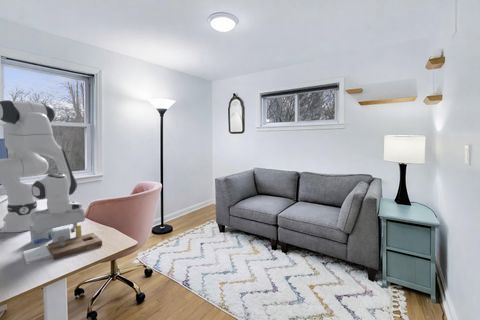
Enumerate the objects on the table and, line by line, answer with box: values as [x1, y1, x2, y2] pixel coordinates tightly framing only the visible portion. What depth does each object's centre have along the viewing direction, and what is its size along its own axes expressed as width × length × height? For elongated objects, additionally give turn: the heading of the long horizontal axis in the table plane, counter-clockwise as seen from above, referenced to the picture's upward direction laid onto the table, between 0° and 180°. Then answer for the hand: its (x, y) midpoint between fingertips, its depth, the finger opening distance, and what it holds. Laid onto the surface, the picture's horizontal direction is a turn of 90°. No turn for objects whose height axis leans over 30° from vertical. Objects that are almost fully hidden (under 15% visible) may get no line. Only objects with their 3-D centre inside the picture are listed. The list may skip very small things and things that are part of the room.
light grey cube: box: [51, 225, 71, 243], centre depth 116 cm, size 6×6×6 cm
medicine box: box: [29, 224, 54, 245], centre depth 117 cm, size 8×4×9 cm, turn 143°
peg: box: [75, 224, 82, 237], centre depth 121 cm, size 2×2×6 cm
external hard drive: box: [22, 245, 53, 265], centre depth 103 cm, size 2×8×12 cm
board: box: [47, 232, 103, 260], centre depth 110 cm, size 13×18×6 cm
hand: (61, 235), depth 116 cm, fingers open, 8 cm apart
